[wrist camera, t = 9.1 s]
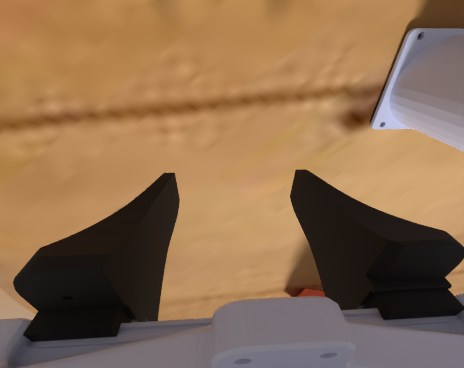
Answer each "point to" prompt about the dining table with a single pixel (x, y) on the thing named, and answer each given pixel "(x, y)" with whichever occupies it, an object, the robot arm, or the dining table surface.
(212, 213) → the dining table surface
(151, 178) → the dining table surface
